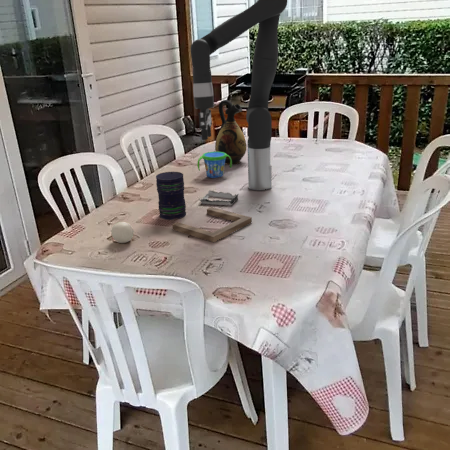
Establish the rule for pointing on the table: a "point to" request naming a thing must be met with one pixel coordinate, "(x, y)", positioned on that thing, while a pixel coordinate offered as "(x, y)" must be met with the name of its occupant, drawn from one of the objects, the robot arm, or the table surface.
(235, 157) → the ceramic jug
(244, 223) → the walnut bay
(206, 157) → the snack cup
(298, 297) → the table surface
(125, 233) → the white egg
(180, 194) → the dark blue ridged cylinder
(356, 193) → the table surface
